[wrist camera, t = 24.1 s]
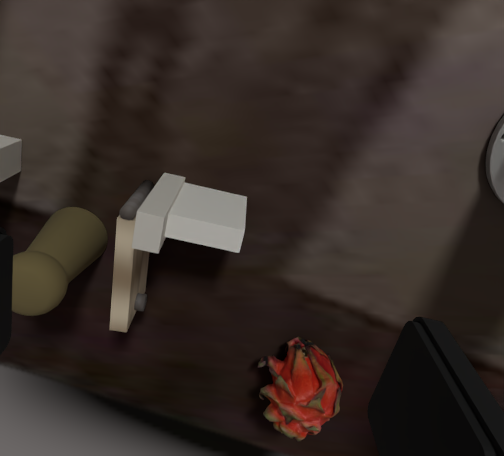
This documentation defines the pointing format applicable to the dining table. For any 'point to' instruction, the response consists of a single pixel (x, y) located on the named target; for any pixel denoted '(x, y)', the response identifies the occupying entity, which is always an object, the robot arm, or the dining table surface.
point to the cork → (56, 260)
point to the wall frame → (168, 209)
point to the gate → (129, 265)
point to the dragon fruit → (301, 389)
